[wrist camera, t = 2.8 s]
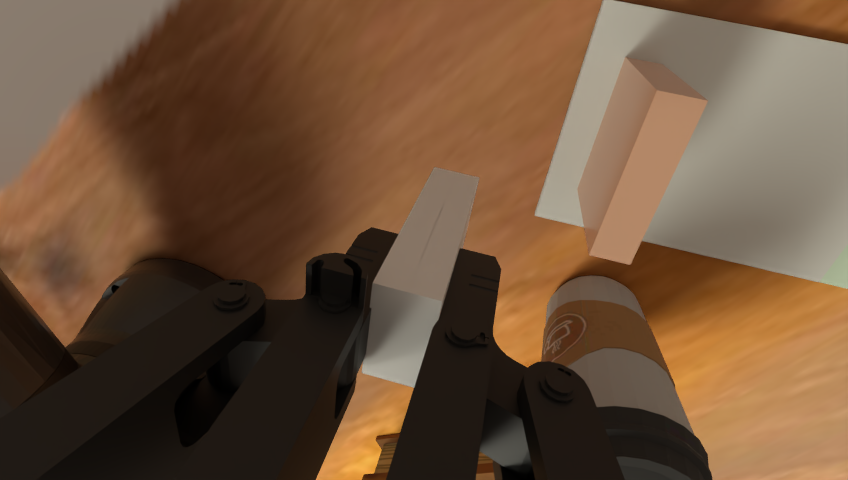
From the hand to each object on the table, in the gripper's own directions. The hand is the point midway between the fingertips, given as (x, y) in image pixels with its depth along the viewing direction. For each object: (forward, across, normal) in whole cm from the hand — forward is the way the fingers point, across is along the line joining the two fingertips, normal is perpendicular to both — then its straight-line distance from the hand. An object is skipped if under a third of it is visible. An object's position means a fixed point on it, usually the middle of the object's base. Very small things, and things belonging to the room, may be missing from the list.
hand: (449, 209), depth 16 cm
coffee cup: (+15, +10, -13) cm, 23 cm away
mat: (+15, +18, 0) cm, 23 cm away
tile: (+15, +8, 0) cm, 17 cm away
